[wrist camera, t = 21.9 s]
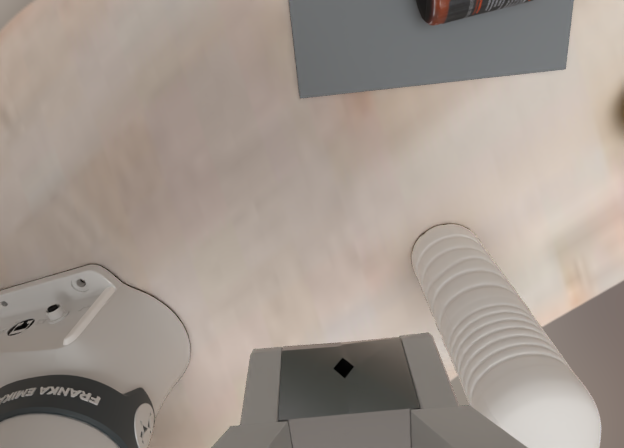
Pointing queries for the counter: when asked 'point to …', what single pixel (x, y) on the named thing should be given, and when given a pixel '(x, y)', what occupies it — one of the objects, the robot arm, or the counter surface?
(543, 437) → the water bottle
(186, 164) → the counter surface
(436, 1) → the supplement bottle
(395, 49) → the mat
